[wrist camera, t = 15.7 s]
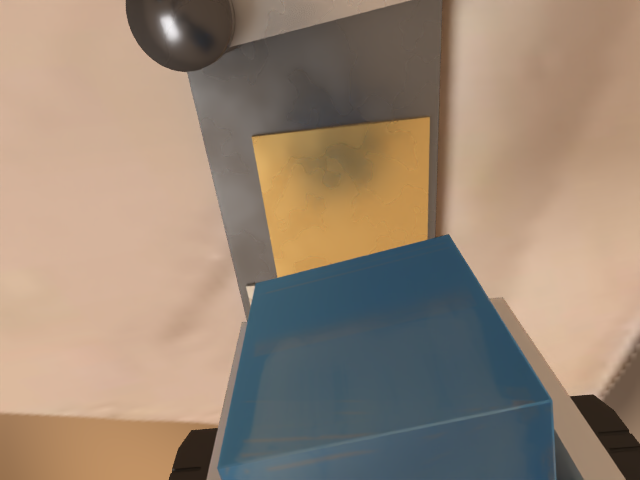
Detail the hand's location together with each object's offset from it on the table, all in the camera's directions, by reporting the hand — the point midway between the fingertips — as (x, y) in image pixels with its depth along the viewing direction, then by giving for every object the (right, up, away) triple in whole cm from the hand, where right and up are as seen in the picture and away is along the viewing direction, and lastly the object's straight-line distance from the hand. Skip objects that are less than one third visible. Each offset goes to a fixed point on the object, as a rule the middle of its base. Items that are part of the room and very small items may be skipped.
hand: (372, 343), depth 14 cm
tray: (-2, +7, +9) cm, 12 cm away
